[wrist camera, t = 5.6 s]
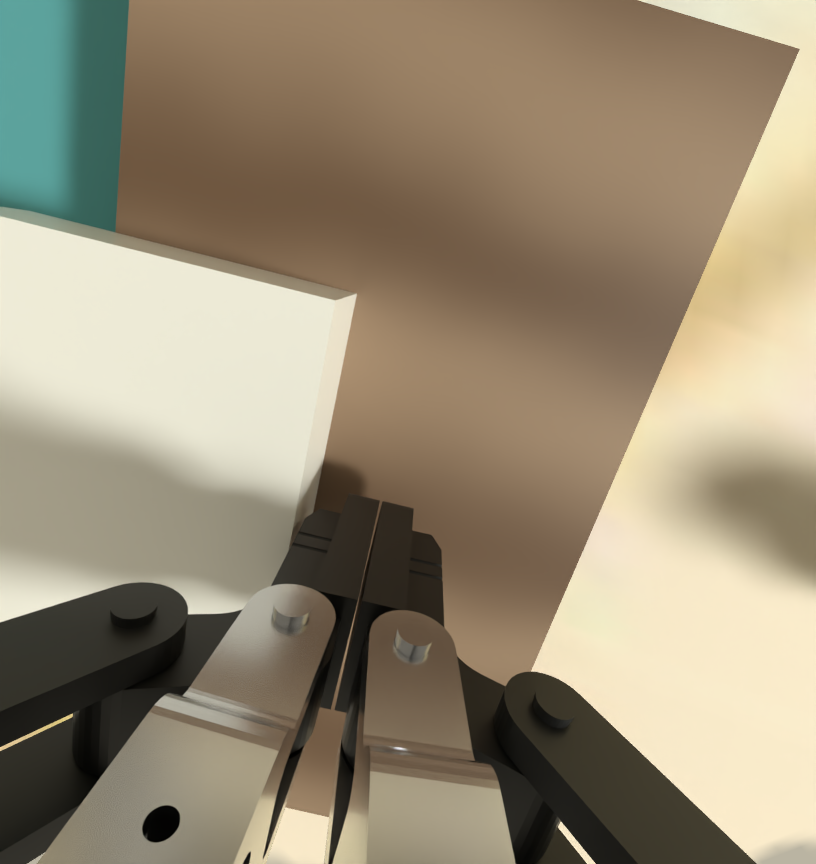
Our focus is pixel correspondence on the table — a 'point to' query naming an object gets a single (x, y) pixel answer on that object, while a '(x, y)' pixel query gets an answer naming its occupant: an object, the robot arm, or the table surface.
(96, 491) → the ivory tile
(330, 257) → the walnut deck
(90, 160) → the teal mat
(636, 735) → the table surface
